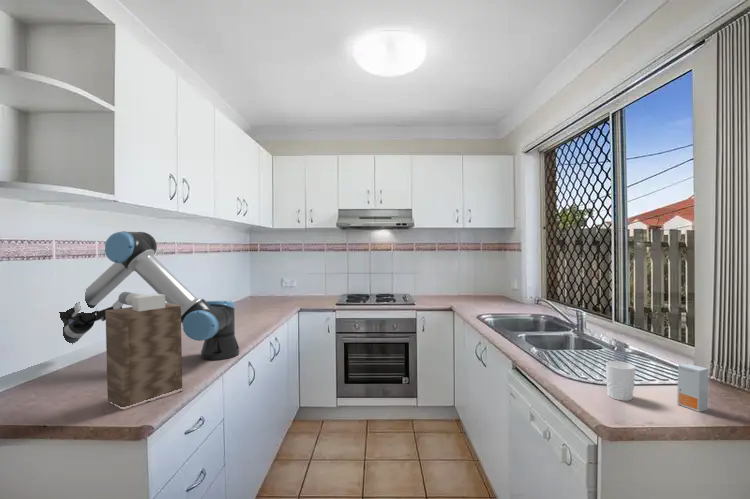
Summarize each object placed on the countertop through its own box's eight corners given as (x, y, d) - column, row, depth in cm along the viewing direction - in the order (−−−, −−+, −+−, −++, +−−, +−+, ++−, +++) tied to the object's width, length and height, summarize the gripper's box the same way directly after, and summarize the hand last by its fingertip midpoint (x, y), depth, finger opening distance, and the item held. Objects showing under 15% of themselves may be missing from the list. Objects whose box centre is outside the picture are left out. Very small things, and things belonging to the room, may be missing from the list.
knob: (111, 305, 136) (111, 293, 136) (137, 302, 142) (137, 290, 142) (138, 311, 125) (138, 298, 125) (165, 307, 132) (165, 294, 132)
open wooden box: (166, 385, 143) (164, 302, 142) (182, 391, 137) (180, 305, 136) (107, 402, 128) (105, 310, 127) (122, 410, 122) (120, 314, 121)
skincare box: (676, 404, 125) (677, 364, 124) (685, 402, 127) (686, 362, 126) (699, 412, 119) (700, 370, 119) (708, 410, 121) (709, 368, 121)
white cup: (608, 390, 137) (608, 359, 136) (636, 396, 132) (637, 364, 131) (602, 397, 131) (603, 365, 130) (632, 403, 126) (633, 370, 125)
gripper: (116, 328, 171) (139, 309, 160) (41, 340, 151) (61, 318, 140) (112, 311, 173) (135, 290, 162) (37, 320, 153) (57, 297, 142)
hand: (101, 303), depth 151 cm, fingers open, 13 cm apart
